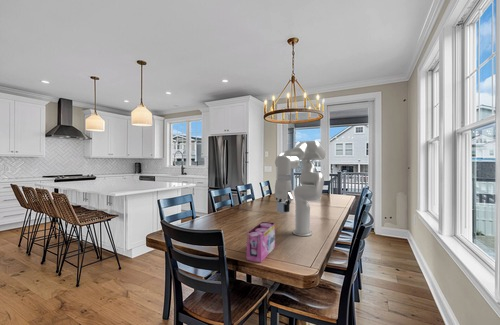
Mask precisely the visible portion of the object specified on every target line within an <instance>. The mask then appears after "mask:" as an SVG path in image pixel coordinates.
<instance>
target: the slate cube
mask: <svg viewBox="0 0 500 325" xmlns="http://www.w3.org/2000/svg"><path fill="white" fill-rule="evenodd" d="M284 205H285V201H282V202H277V201H276V212H278V213H282V214H286V213H291V212H290V210H291V203H290V204H289V212H284Z"/></svg>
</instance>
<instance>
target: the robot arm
mask: <svg viewBox="0 0 500 325" xmlns="http://www.w3.org/2000/svg"><path fill="white" fill-rule="evenodd" d="M325 158H326V150H325V148H324V147H323V146H322V144H321V143H320V142H319V141H317V140H304V141H301V142H299V143H298V144H297V145H296V146H295V147H293V148H290V149H287V150H285V151H282V152H280V153H279V154H278V155H277V156H276V158H275V161H274V164H275V167H276V180H275V185H274V197H275V200H276V203H277V202H285V205H284V212H287V213H290V212H289V204H290V205H291V203H292V202H293V200H294V202H295V203H294V204H295V206H294V207H295V208H294V209H295V212H294V213H295V216H294V217H295V218H294V220H295V222H294V223H295V224H294V229H293V230H292V234H294V235H295V236H298V237H309V236H312V235H313V231H311V206H310V204H309V203H308V202H319V201H320V200H321V199H322V194H323V188H324V184H325V176H324V174H323V173H321V172H316V166H315V164H313V162H312V161H322V160H324V159H325ZM301 163H302V170H301V173H300V177H299V184H300V185H297V186H295V187H294V189H292V188H293V185H292V181H291V176H292V175H291V174H292V172H291V171H292V170H295V169H298V168H299V167H300V164H301ZM293 196H294V198H293Z"/></svg>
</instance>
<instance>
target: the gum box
mask: <svg viewBox="0 0 500 325" xmlns="http://www.w3.org/2000/svg"><path fill="white" fill-rule="evenodd" d="M246 236H247V237H246V260H247V261H251V262H255V263H262V262H263V261H264V260H265V259H266V257H267V256H268V255H269V254H270V253H271V252H272V251H273V250H274V249H275V248H276V222H269V221H261V222H260V223H258V224H257V225H255V226H254V227H253V228H251V229H250V230H249V231H247V233H246Z"/></svg>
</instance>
